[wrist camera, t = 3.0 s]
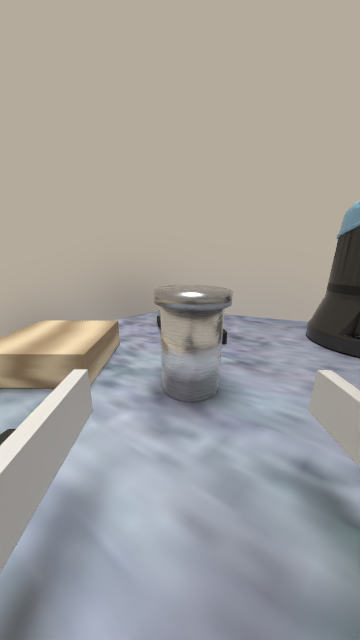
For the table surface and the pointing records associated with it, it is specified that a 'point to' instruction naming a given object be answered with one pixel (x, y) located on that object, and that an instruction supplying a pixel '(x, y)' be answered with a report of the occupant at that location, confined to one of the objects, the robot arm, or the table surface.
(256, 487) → the table surface
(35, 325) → the stand
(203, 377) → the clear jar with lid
